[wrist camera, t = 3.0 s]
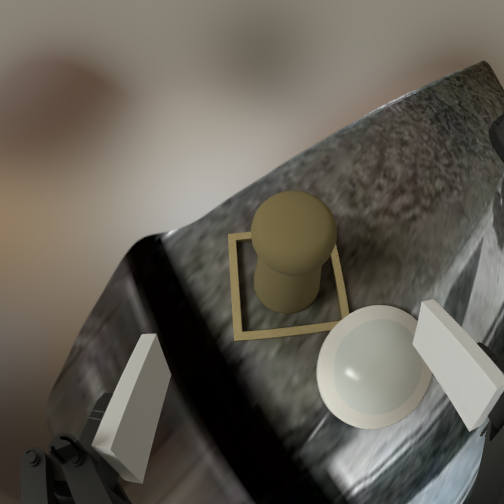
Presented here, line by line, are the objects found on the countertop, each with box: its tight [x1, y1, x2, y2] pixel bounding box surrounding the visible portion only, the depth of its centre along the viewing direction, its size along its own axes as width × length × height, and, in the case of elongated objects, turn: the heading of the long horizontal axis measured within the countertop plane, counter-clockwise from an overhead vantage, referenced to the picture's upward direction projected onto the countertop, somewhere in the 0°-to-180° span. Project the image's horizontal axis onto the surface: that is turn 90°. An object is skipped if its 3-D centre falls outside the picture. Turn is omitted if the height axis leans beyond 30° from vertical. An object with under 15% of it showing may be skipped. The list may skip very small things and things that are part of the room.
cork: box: [251, 190, 337, 314], centre depth 21 cm, size 6×6×11 cm
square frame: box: [228, 232, 349, 341], centre depth 25 cm, size 10×10×1 cm
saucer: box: [316, 305, 432, 429], centre depth 21 cm, size 11×11×1 cm
